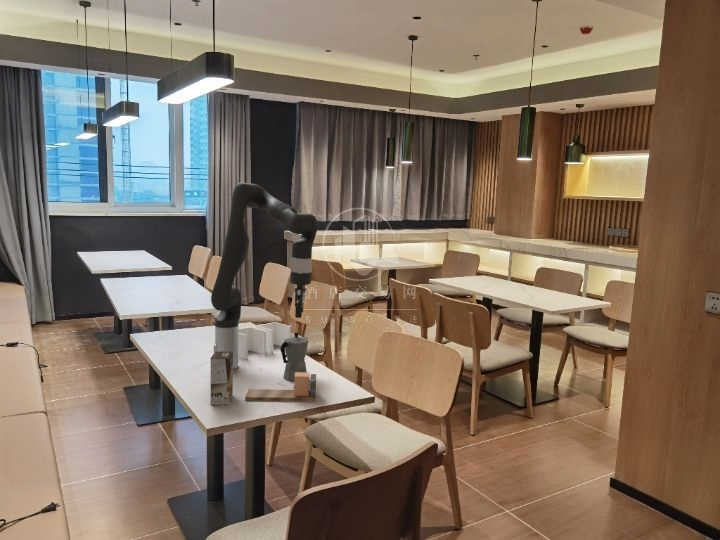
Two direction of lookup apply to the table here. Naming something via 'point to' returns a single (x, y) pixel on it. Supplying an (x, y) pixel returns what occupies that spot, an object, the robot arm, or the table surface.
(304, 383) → the tan tall block
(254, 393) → the rail
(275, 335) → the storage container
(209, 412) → the table surface
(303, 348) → the coffeepot
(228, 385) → the coffee box
